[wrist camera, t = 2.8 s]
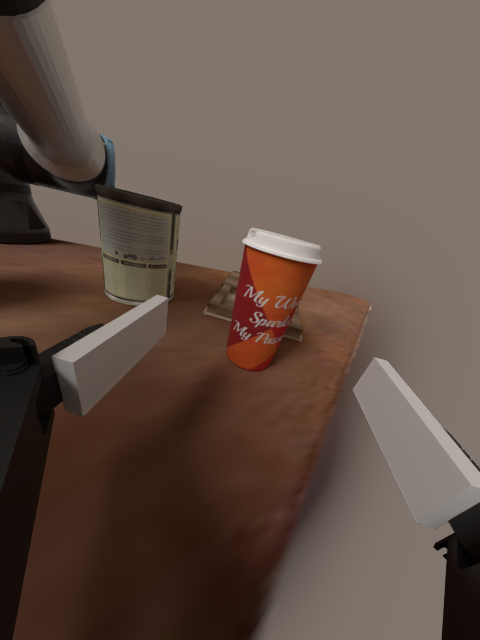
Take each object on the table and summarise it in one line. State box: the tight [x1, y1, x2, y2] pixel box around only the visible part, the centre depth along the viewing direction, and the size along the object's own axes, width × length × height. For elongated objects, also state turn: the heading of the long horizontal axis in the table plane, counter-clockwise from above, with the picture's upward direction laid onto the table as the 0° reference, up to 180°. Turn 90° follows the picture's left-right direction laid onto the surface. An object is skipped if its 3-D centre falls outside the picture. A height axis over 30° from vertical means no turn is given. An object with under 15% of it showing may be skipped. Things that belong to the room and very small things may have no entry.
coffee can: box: [95, 184, 182, 306], centre depth 30 cm, size 10×10×14 cm
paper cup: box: [227, 228, 322, 371], centre depth 22 cm, size 8×8×14 cm
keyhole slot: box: [203, 271, 303, 342], centre depth 41 cm, size 24×16×2 cm, turn 171°
